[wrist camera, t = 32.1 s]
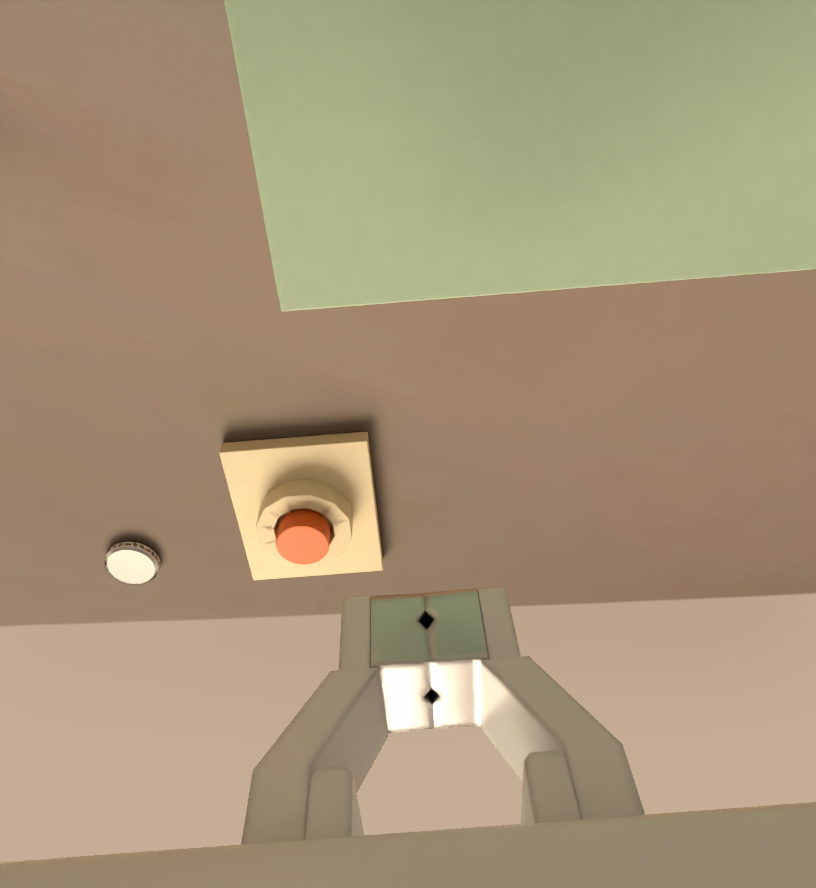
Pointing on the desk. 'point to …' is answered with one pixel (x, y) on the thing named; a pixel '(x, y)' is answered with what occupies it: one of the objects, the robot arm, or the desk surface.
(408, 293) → the green cabinet
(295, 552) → the button
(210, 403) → the desk surface
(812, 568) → the desk surface
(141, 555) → the washi tape
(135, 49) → the desk surface
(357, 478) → the control box
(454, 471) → the desk surface
